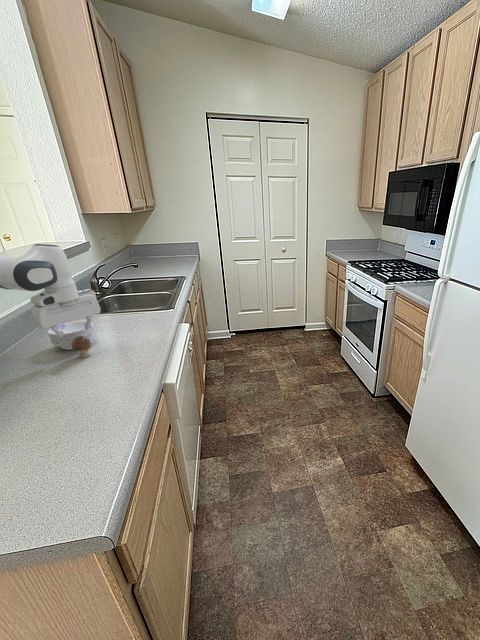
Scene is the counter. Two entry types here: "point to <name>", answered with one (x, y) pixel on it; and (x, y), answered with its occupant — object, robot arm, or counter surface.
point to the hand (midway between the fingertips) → (75, 332)
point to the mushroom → (82, 346)
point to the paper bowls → (71, 333)
